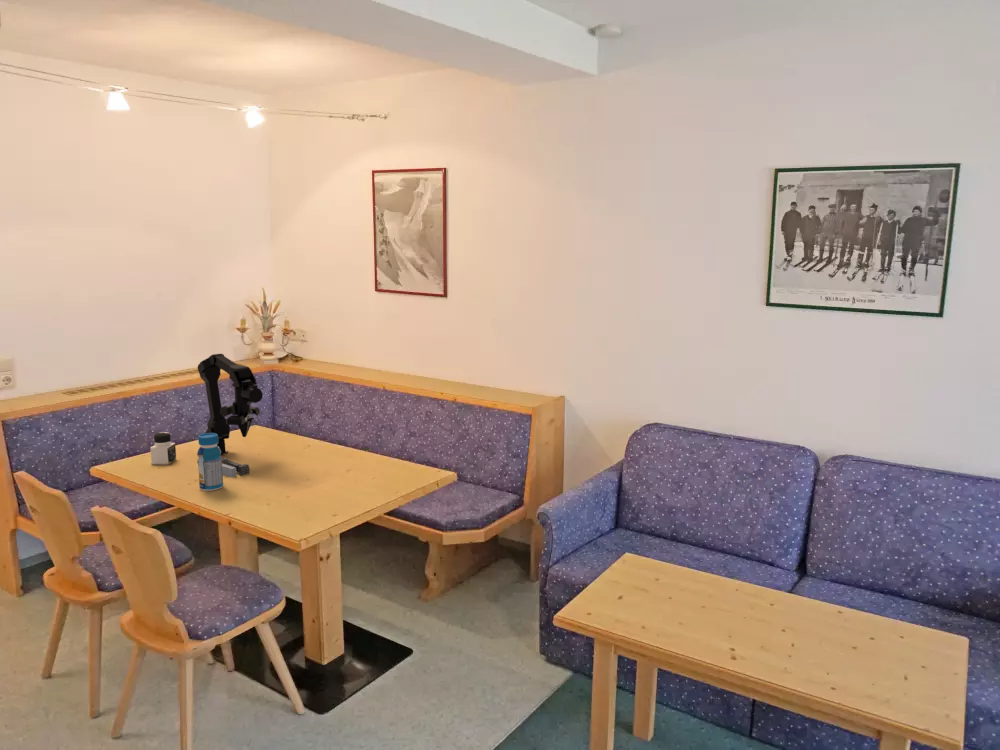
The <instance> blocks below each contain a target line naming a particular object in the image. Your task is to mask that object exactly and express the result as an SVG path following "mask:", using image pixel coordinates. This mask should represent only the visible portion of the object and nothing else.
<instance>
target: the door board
mask: <svg viewBox="0 0 1000 750" xmlns="http://www.w3.org/2000/svg"><path fill="white" fill-rule="evenodd" d="M237 475H238V474H237V472H236V468H235V467H232V466H229V465H226V464H222V476H226V477H229V478H235V477H237Z"/></svg>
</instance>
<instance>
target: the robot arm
mask: <svg viewBox="0 0 1000 750" xmlns="http://www.w3.org/2000/svg"><path fill="white" fill-rule="evenodd" d="M197 365H198V366H197V371H198V374H199V377H200V379H201V380H202V381H203V382H204V383H205V390H206V391H205V392H206V397H207V404H208V409H209V420H208V421H207V429H206V431H205V433H216V434H218V444H217V445H218V446H219V448H220V450H221V456H222V455H226V454H229V451H227V450H226V439H228V440H229V439H230V432H231V427H230V426H238V428H239V431H240V433H241V436H242V437H243V438H246V437H247V435H248V433H249V431H250V428H251V427H252V424H253V421H254V420H255V418H254V417H251V415H252V414H253V415H255V416H259V415H261V413H260V412H261V411H260V409H261V408H258V407H257V406H251V404H252V403H255V404H257V403H259V402H260V401H262V399H263V396H264V393H263V391H262V389H260V388H258V386H259V385H257V384H258V383H257V379H256V377H255V375H254V373H253V370H251V368H250V367H249V366H246V365H242V364H237V363H235V361H234V362H233V360H231V359H230V358H228V357H226V356H225V354H223V353H214V354H211V355H210V356H209V357H207V358H205V359H204V360H203V359H202V361H200V362H199V364H197ZM221 370H222V371H224V372H225V373H227V374H228V375H229V379H230V380H231V381H232V382H233V383H232V384H231V387H233V388H234V401H233V402H232V404H231V405H229V406H227V405H224V406H222V402H221V396H220V389H219V379H220V376H221V374H222V373H221ZM227 416H228V417H227ZM226 417H227V418H226Z"/></svg>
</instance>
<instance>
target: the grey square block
mask: <svg viewBox="0 0 1000 750" xmlns="http://www.w3.org/2000/svg"><path fill="white" fill-rule="evenodd" d="M248 474H250V466H249V464H248V463H243V464H242V465H239V466H238V472H237V475H239V476H245V475H248Z"/></svg>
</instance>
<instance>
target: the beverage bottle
mask: <svg viewBox="0 0 1000 750" xmlns="http://www.w3.org/2000/svg"><path fill="white" fill-rule="evenodd" d="M197 440H198V445H199V448H198V450H197V453H196V455H197V461H196V462H197V463H196V464H197V471H198V481H199V482H198V483H199V489H200V490H201V491H203V492H213V491H218V490H221V489H222V488H223V487H224V482H223V481H224V480H223V479H224V477H223V476H224V475H222V458H223V457H222V455H221V450H220V448H219V446H218V445H217V444H218V434H216V433H206V432H204V433H200V434H199V435H198V439H197Z"/></svg>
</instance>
